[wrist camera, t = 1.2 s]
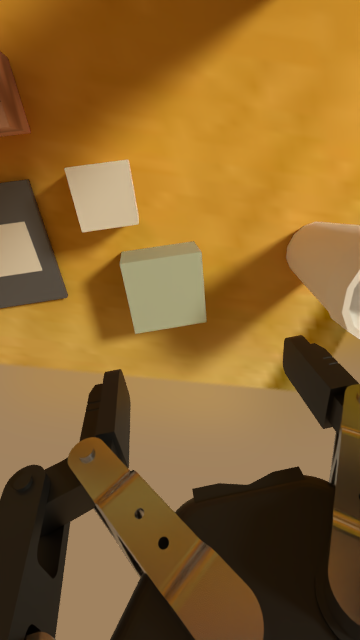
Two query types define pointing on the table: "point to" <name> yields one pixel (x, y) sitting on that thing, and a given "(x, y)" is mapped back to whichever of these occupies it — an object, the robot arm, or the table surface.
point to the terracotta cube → (10, 103)
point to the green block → (164, 286)
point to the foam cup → (330, 268)
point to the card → (25, 250)
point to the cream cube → (103, 195)
